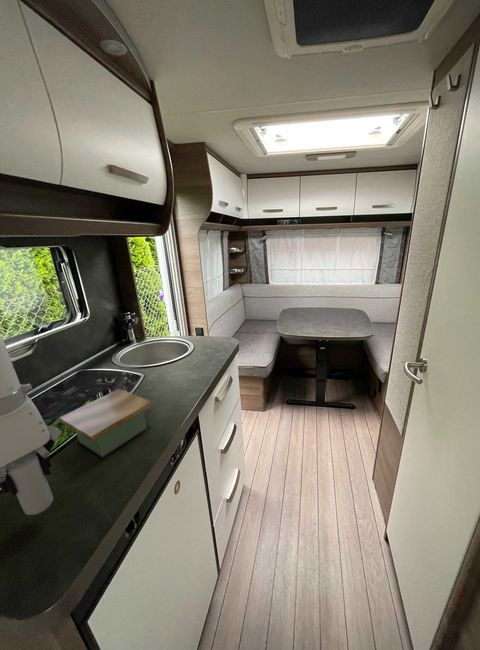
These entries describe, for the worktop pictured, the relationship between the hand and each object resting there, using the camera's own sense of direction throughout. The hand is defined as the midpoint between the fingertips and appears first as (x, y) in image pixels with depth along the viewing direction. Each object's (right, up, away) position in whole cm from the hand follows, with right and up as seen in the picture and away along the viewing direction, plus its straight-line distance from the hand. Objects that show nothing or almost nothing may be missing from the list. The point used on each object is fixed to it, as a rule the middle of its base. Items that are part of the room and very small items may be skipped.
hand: (29, 481), depth 54 cm
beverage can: (0, -6, +3) cm, 7 cm away
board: (+1, +7, +26) cm, 27 cm away
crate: (+1, 0, +29) cm, 29 cm away
